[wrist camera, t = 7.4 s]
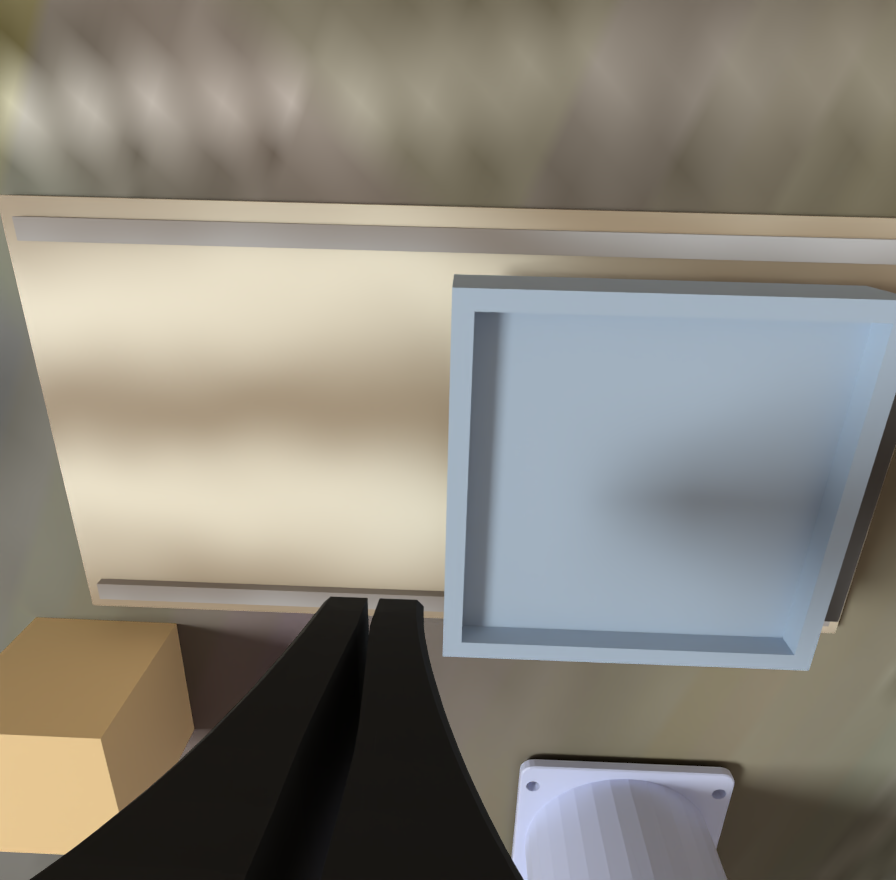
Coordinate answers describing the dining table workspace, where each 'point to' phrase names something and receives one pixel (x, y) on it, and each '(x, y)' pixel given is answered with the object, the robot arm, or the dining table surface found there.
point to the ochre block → (85, 726)
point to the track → (321, 374)
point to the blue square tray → (657, 465)
